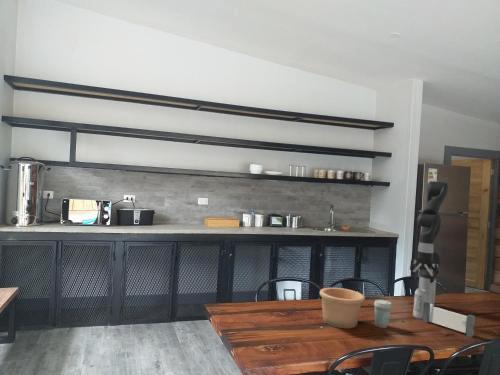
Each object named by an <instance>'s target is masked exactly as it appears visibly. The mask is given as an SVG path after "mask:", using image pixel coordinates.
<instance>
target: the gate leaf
mask: <svg viewBox="0 0 500 375" xmlns="http://www.w3.org/2000/svg"><path fill="white" fill-rule="evenodd" d="M467 319H468V315H464V314H461V313H457V312H454V311H452V310H451V311H450V310H447V309H443V308H440V307H438V306H437V307H436V306H435V303H434V304H430V311H429V322H428V323H433V324H435V325H439V326H443V327H445V328H449V329H452V330H455V331H457V332H461V333H464V334H466V331H467Z"/></svg>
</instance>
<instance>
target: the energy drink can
mask: <svg viewBox="0 0 500 375" xmlns="http://www.w3.org/2000/svg"><path fill="white" fill-rule="evenodd" d="M426 299H427V293H426V290H424V289H417V288H416V290H415V291H414V298H413V309H412V310H413V311H412V316H413V317H414V318H416V319H419V320H422V319H423V307H424V302H426Z"/></svg>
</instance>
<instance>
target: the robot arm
mask: <svg viewBox="0 0 500 375" xmlns="http://www.w3.org/2000/svg"><path fill="white" fill-rule="evenodd" d="M448 192H449V185H448V183H446V182H443V181H430V180H429V182H428V183H427V187H426V200H425V201H426V204H425V207H424V209H423V210H422V211H421V212H420V213H419V214H418V216H417V218H416V222H417V225H418V226H419V227H422V231H421V232H419V237H418V245H417V259H411V260H410V265H409V270H410V271H411V272H412V278H413V280H417V278H418V279H419V283H418V287H417V288H416V289H424V290H426V293H427V299H426V302H428V303H430V304H434V305H435V300H436V299H435V297H436V286H437V285H436V284H437V276H439V271H440V270H439V269H440V261H441V260H440V259H441V258H440V254H439V253H438V252H437V251H434V241H435V240H436V238H437V236H438V235H439V233H440V231H441V225H442V224H441V223H442V219H441V216H440V214H439V211H440V208H441V206H442V204H443V203H444V201H445V199H446V198H447V195H448ZM415 265H417V266H415ZM419 270H421V271H419ZM418 271H419V277H418Z"/></svg>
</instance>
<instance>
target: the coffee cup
mask: <svg viewBox="0 0 500 375" xmlns="http://www.w3.org/2000/svg"><path fill="white" fill-rule="evenodd" d="M373 305H374V325H375V327H377V328H381V329H386V328H388V325H389V321H390V318H391V317H390V314H391V311H392V308H393V306H392V303H391V302H390V301H388V300H386V299H375V301H374V303H373Z"/></svg>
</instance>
